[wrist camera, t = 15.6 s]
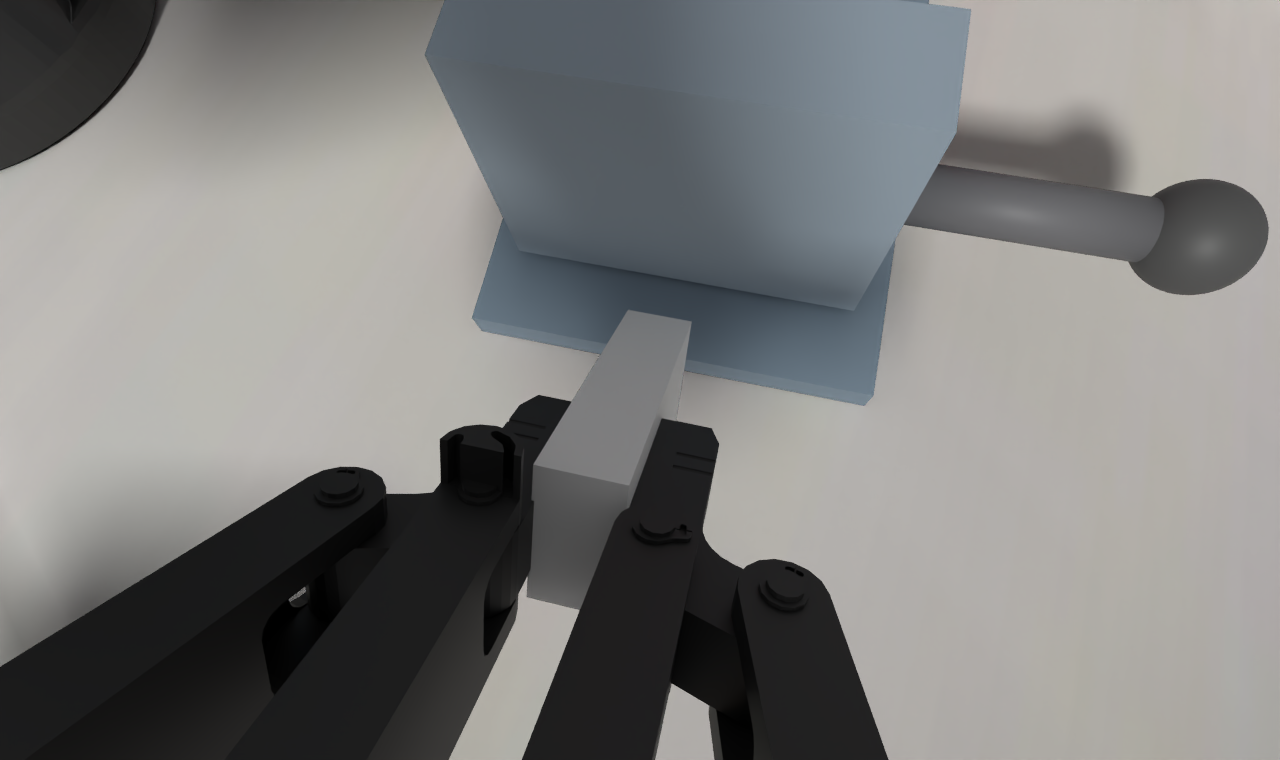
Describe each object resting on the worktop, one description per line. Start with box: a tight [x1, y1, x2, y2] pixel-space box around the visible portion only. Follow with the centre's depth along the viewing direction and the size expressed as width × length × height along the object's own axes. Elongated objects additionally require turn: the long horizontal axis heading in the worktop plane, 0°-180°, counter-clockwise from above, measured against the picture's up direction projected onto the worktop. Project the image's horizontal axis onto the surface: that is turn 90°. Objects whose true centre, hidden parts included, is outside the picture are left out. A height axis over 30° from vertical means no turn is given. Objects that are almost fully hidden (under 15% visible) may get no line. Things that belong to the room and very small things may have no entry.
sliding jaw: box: [425, 0, 1269, 311], centre depth 19 cm, size 3×20×9 cm, turn 77°
